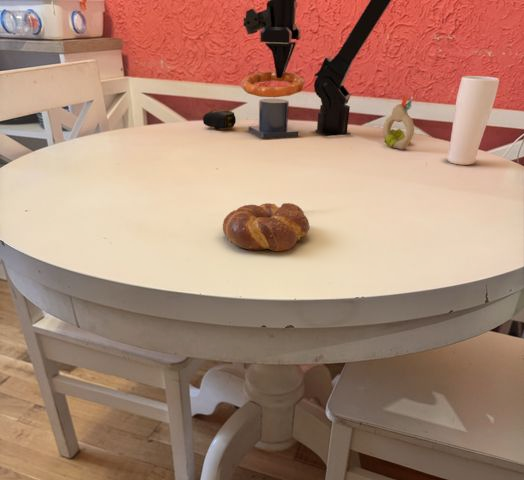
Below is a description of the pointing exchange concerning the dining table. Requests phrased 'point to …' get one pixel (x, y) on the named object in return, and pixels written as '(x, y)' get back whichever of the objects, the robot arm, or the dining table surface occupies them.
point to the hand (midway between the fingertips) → (279, 77)
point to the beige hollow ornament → (397, 137)
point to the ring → (272, 91)
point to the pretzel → (266, 226)
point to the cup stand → (273, 120)
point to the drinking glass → (471, 117)
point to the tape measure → (219, 119)
